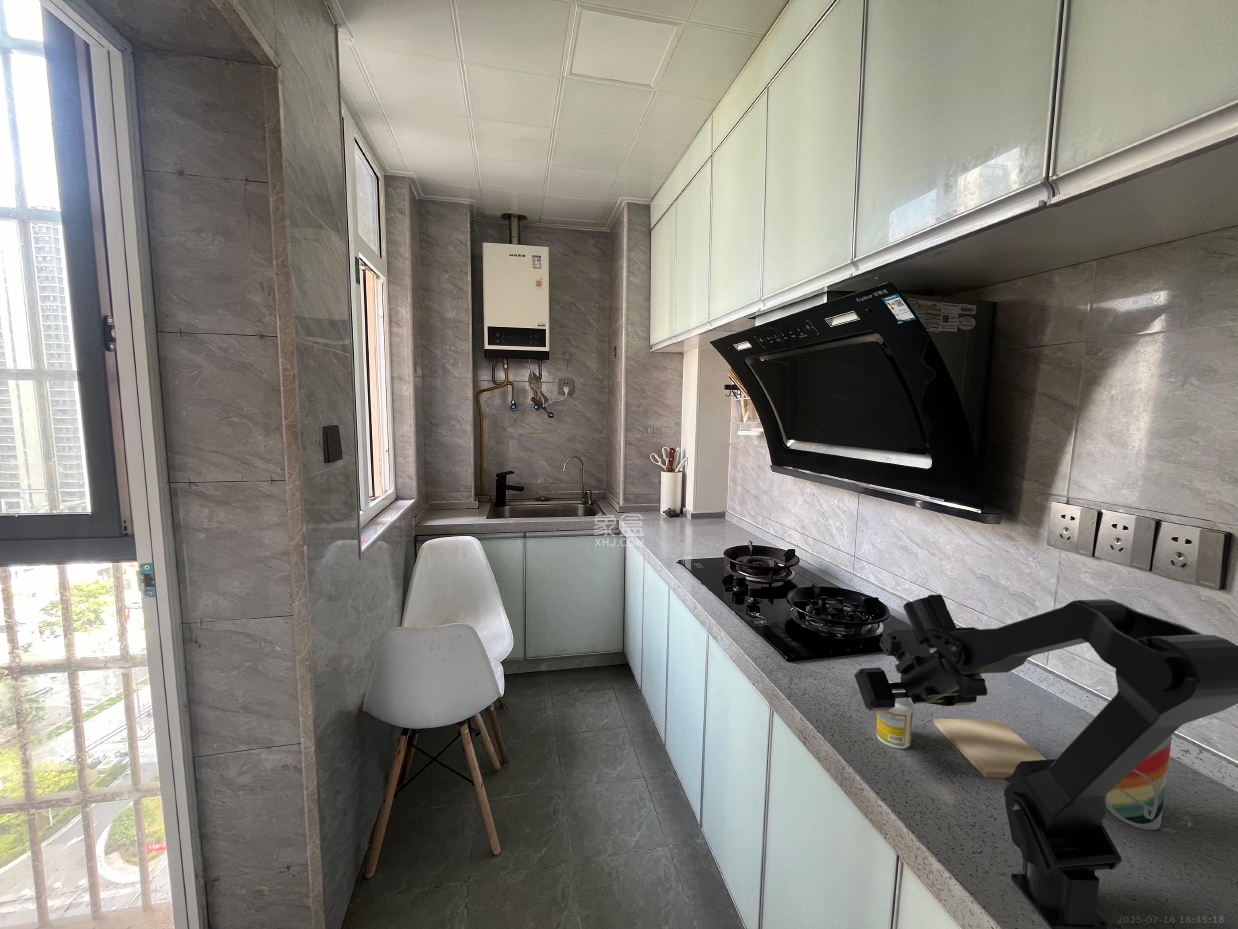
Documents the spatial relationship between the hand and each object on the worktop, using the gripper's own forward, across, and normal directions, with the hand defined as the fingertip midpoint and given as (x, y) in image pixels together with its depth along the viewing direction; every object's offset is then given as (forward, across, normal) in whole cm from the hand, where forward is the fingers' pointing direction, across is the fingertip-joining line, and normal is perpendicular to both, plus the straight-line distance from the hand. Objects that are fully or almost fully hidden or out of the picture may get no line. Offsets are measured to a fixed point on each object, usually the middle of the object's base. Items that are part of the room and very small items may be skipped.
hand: (890, 699), depth 90 cm
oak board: (+1, -16, +9) cm, 18 cm away
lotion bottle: (-10, -24, +20) cm, 32 cm away
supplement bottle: (+4, 0, +6) cm, 7 cm away
